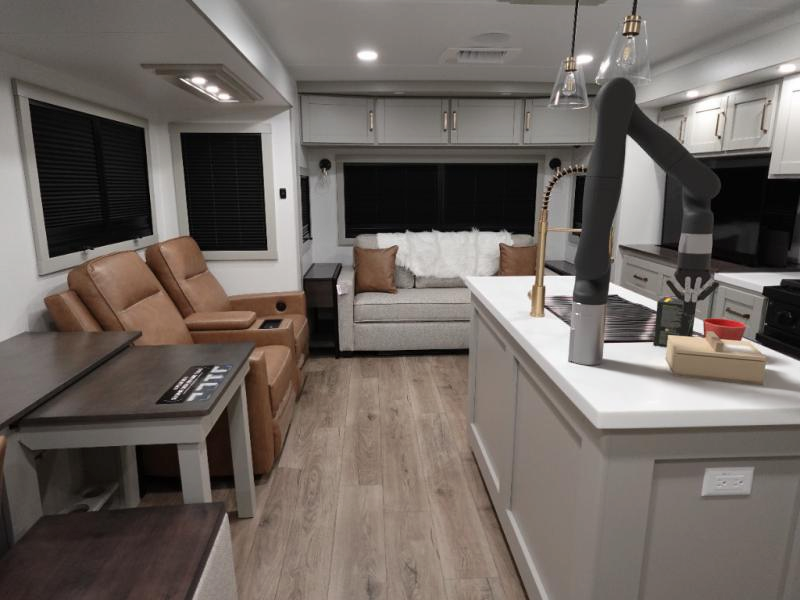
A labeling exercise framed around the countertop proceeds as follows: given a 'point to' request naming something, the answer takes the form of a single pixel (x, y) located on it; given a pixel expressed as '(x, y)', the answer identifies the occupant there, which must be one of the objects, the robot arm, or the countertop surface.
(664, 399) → the countertop surface
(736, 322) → the flower pot
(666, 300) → the tampon box
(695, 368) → the box
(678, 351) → the lid
